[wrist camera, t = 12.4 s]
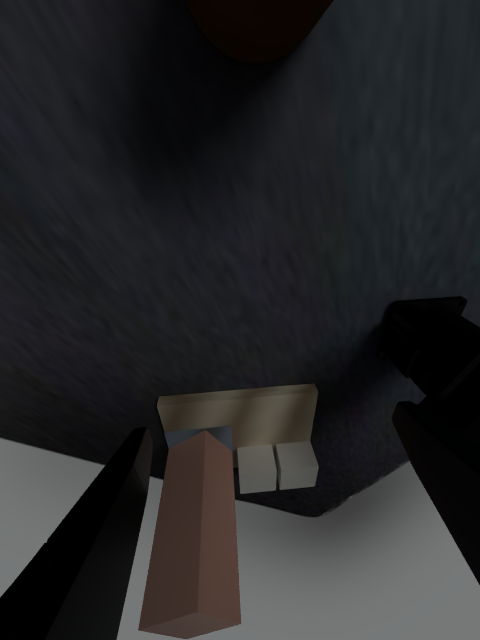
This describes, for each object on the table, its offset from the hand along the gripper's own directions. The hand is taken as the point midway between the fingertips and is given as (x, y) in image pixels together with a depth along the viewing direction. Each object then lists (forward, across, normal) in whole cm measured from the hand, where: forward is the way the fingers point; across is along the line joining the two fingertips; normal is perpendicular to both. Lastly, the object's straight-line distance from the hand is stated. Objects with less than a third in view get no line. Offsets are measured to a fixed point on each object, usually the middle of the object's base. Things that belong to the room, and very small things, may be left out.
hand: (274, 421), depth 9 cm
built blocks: (+12, -3, +22) cm, 25 cm away
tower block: (+12, +6, +19) cm, 23 cm away
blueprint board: (+13, +1, +18) cm, 22 cm away
